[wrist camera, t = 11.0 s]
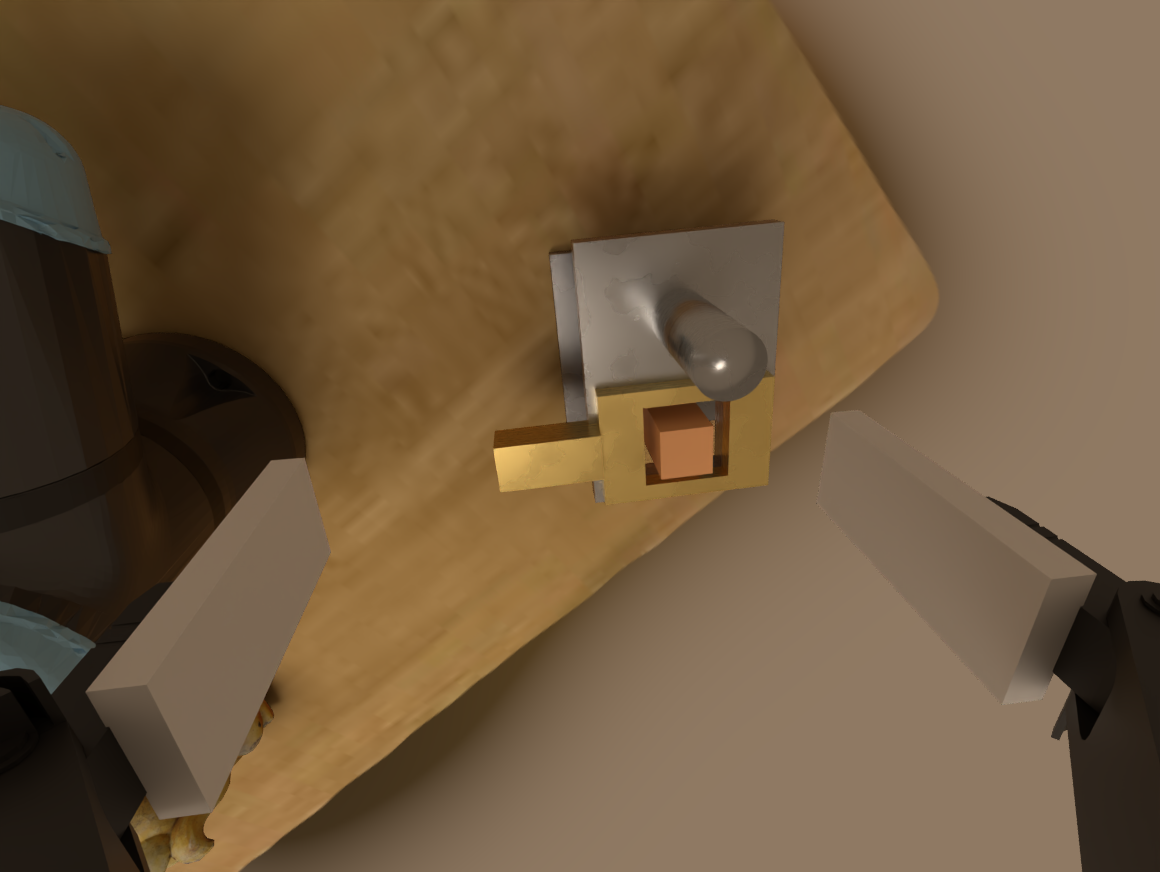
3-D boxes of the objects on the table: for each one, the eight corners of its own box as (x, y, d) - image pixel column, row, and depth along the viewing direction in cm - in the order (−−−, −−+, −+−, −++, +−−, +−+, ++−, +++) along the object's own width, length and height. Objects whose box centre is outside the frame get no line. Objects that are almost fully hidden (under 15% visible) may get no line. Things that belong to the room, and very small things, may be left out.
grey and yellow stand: (510, 449, 44) (504, 604, 28) (476, 235, 37) (444, 283, 21) (735, 422, 44) (850, 558, 29) (742, 209, 38) (897, 236, 22)
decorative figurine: (209, 743, 53) (103, 938, 40) (140, 690, 50) (-1, 883, 36) (294, 701, 52) (215, 888, 39) (229, 644, 49) (118, 827, 35)
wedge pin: (631, 412, 42) (661, 479, 33) (629, 373, 41) (660, 432, 32) (671, 407, 42) (712, 473, 33) (670, 369, 41) (713, 426, 32)
